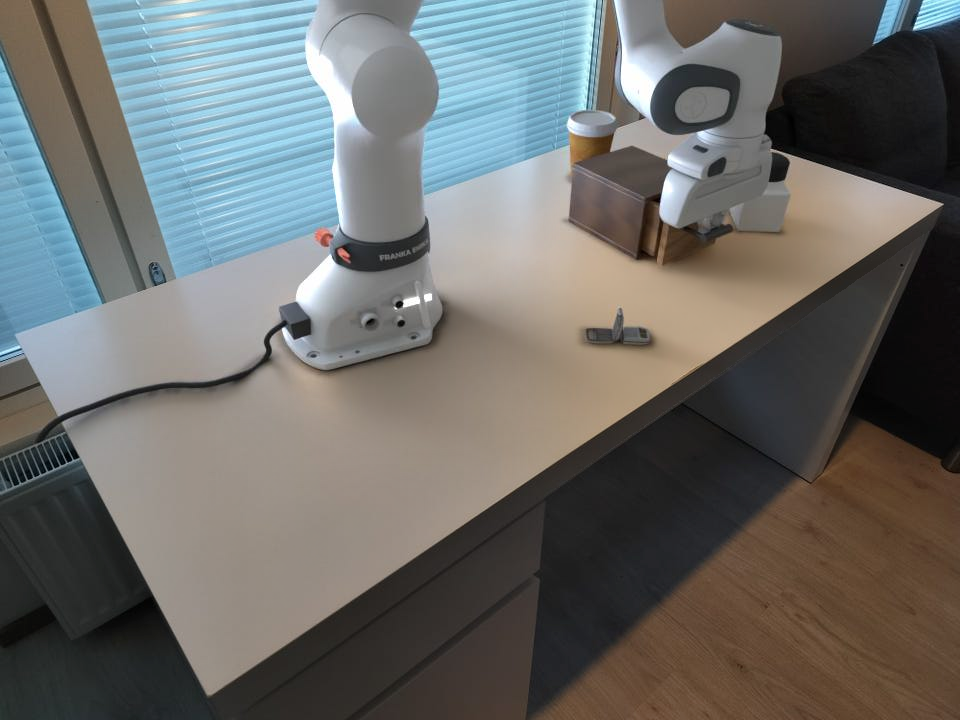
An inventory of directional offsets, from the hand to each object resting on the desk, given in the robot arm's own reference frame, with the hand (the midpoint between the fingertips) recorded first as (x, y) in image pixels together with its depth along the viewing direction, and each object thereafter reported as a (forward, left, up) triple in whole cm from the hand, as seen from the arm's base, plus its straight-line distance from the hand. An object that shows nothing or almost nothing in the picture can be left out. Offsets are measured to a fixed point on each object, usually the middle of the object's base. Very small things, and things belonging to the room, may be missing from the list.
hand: (707, 236), depth 104 cm
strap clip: (-24, -6, -5) cm, 26 cm away
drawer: (0, +8, -4) cm, 9 cm away
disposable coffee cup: (+8, +36, -5) cm, 37 cm away
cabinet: (0, +16, -5) cm, 16 cm away
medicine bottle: (+19, +5, -5) cm, 20 cm away
